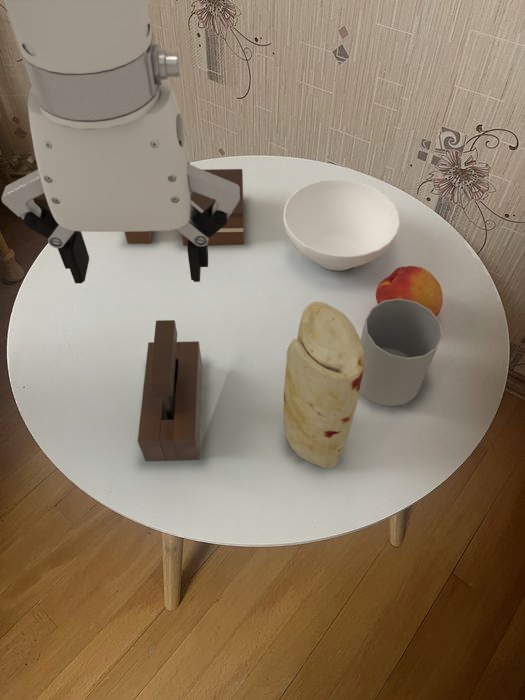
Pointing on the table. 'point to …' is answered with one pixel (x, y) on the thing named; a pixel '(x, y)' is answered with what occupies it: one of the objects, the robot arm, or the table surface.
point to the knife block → (184, 431)
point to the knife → (165, 365)
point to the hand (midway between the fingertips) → (139, 270)
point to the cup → (397, 350)
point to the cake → (235, 222)
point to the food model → (322, 384)
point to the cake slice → (138, 237)
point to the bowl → (341, 223)
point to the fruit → (412, 288)
